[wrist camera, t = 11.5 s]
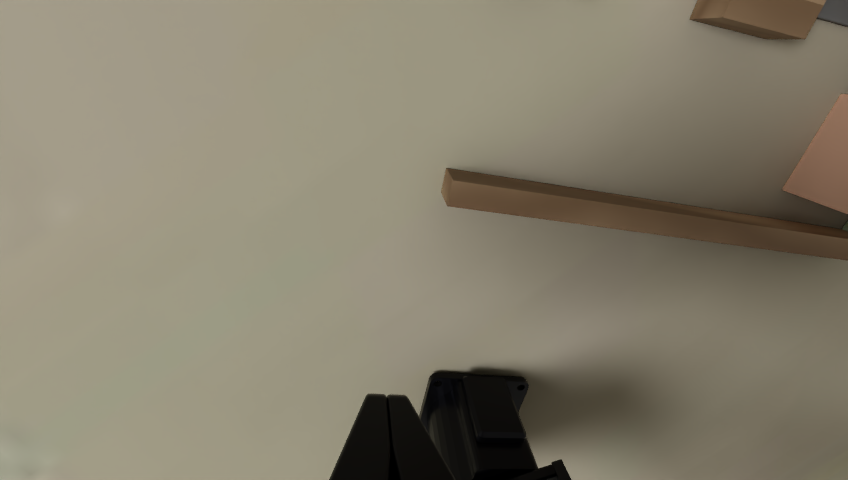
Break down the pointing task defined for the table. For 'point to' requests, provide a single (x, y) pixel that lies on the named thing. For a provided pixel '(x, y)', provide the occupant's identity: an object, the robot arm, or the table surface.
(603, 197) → the trap lane
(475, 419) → the robot arm
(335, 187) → the table surface
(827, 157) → the block
